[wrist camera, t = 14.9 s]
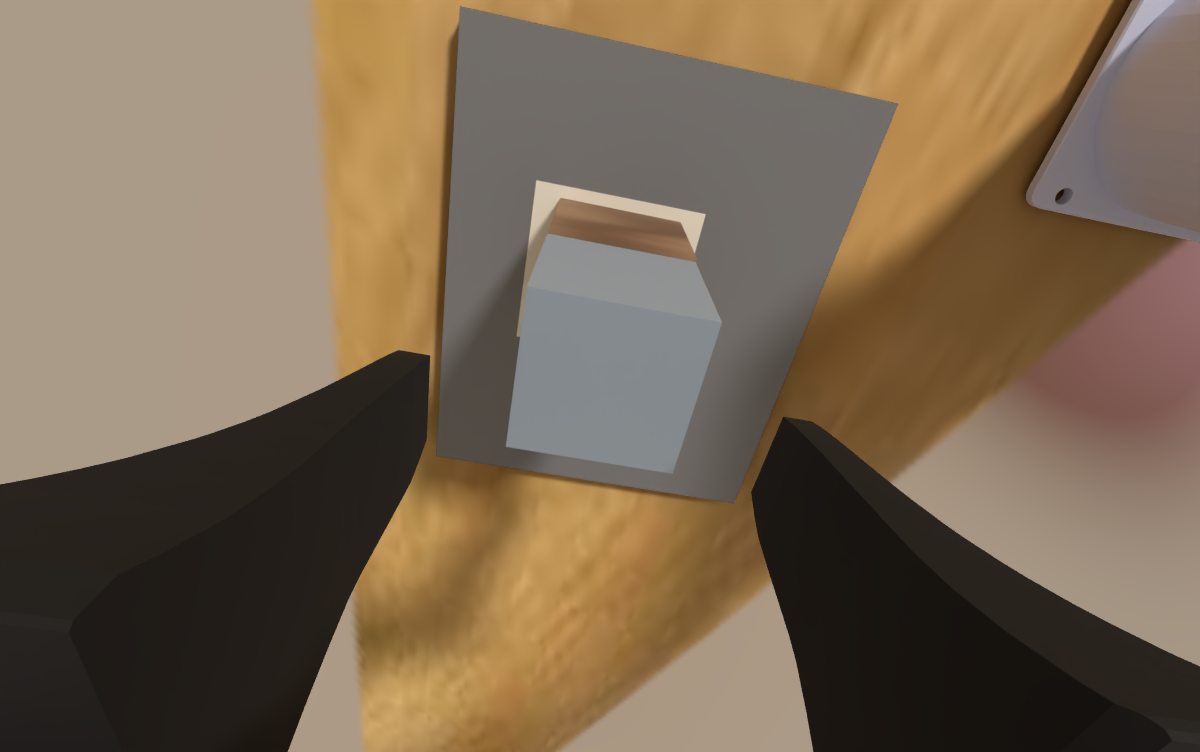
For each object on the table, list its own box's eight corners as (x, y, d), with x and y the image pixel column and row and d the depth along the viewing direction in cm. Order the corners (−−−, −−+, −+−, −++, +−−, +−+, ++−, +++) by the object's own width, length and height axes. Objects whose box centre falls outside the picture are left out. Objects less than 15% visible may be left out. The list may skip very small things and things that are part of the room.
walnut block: (680, 222, 18) (697, 258, 15) (651, 330, 20) (660, 385, 16) (560, 197, 18) (548, 229, 14) (543, 310, 20) (528, 362, 16)
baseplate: (886, 102, 17) (898, 103, 16) (730, 491, 25) (734, 503, 24) (466, 8, 16) (459, 6, 15) (441, 444, 24) (436, 456, 23)
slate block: (695, 261, 15) (722, 322, 11) (659, 388, 17) (672, 473, 13) (547, 233, 14) (526, 286, 11) (528, 365, 16) (506, 446, 13)
